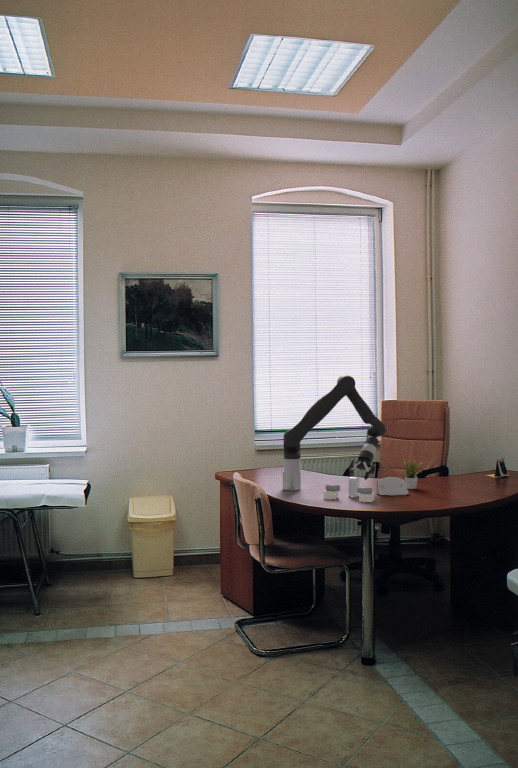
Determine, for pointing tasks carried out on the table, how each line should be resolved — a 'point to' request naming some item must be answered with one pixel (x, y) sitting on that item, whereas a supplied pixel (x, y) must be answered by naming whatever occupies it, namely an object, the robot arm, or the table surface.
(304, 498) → the table surface
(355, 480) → the coupler
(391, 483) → the grey rounded block
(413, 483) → the house plant
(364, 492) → the white and grey block
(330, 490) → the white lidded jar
